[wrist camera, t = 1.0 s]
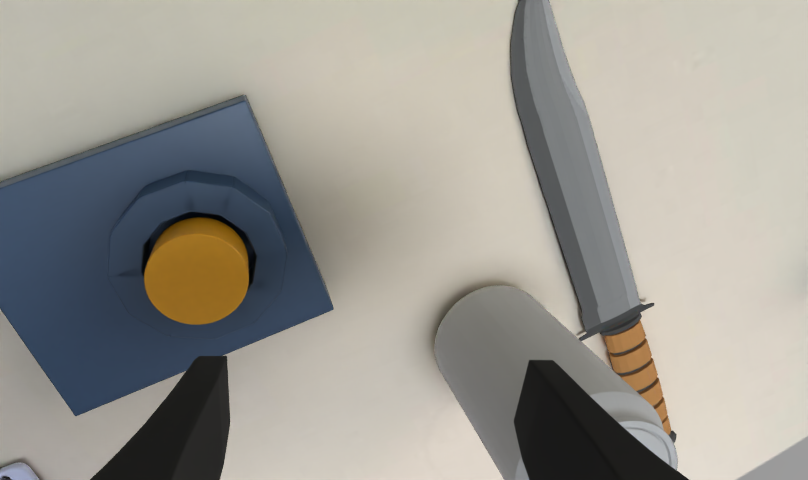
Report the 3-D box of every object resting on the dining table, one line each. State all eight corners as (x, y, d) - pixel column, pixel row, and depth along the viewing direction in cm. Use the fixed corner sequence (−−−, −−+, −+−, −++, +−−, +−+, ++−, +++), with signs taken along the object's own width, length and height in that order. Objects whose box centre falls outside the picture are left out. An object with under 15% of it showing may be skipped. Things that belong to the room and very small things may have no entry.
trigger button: (177, 315, 23) (172, 340, 22) (134, 237, 22) (124, 257, 20) (262, 281, 24) (264, 302, 22) (225, 203, 22) (223, 218, 21)
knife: (462, -6, 25) (565, -53, 25) (454, -4, 26) (553, -49, 27) (626, 476, 37) (696, 441, 37) (615, 462, 38) (683, 428, 38)
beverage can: (442, 398, 33) (543, 583, 22) (418, 300, 30) (520, 453, 19) (544, 361, 34) (690, 520, 23) (530, 263, 31) (686, 389, 20)
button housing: (87, 388, 27) (63, 444, 24) (-42, 196, 23) (-94, 227, 20) (327, 290, 29) (340, 328, 25) (245, 94, 25) (246, 105, 21)
